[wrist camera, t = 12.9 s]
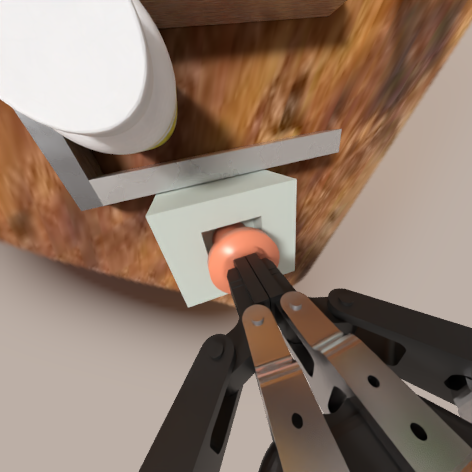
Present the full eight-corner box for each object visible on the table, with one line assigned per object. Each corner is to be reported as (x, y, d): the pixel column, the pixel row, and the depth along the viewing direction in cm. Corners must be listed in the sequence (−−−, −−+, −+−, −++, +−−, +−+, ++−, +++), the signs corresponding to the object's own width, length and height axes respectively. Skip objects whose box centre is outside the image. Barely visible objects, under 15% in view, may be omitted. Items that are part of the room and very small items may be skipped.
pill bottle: (67, 83, 12) (-308, -118, 3) (138, 34, 12) (-5, -352, 3) (135, 164, 15) (68, 194, 6) (192, 126, 15) (212, 96, 6)
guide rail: (331, -22, 14) (366, -61, 11) (318, 151, 20) (338, 152, 17) (-29, -11, 10) (-103, -67, 7) (97, 200, 16) (81, 210, 13)
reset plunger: (254, 205, 14) (278, 224, 10) (259, 252, 16) (280, 281, 13) (195, 220, 13) (200, 247, 10) (210, 268, 15) (218, 303, 12)
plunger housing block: (253, 166, 18) (296, 178, 12) (260, 236, 23) (294, 274, 16) (159, 187, 17) (145, 216, 10) (186, 258, 21) (190, 311, 15)
